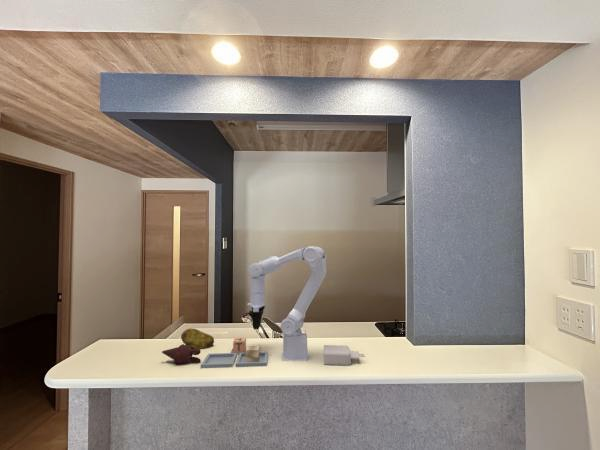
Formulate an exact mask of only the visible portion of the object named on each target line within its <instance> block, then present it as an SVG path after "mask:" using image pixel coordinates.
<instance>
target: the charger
mask: <svg viewBox="0 0 600 450" xmlns="http://www.w3.org/2000/svg"><path fill="white" fill-rule="evenodd" d="M362 357H365V354H364V353H359V351H358V350H356V351H355V350H353V351H352V350H351V349H350V346H349V345H345V344H344V345H338V344H337V345H336V344H324V345H323V365H326V366H350V365H351V364H352V361H353V360H354V361H359V360H360V358H362Z"/></svg>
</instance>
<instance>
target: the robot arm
mask: <svg viewBox="0 0 600 450" xmlns="http://www.w3.org/2000/svg"><path fill="white" fill-rule="evenodd" d="M297 260H299V261H305V263H306V264H307V265H308V266H309V269H310V271H311V274H310V276H309V279H308V280H307V281H306V284H305V286H304V287H303V289H302V291H301V293H300V295H299V296H298V298H297V301H296V302H295V305H294V306H293V308H292V310H291V311H290V312H289V313H288V314H287V316H286V318H284V319H282V321H281V323H280V331H281V332H282V336H283V337H282V352H281V360H282V362H283V361H284V362H285V361H287V362H288V361H308V353H309V352H308V350H309V349H308V334H307V333H304V332H302V329H301V328H303V326H304V320H305V317H306V313H307V310H308V309H309V308H310V307H309V306H310V305H311V303H312V301H313V299H314V298H315V297H316V294H317V292H318V290H319V288H320V286H321V284H322V283H323V281H324V279H325V278H326V275H327V255H326V253H325V251H324V249H323V248H322V247H321V246H314V245H313V246H312V245H310V246H307V247H302V248H298V249H296V250H294V251H292V252H289V253H287V254H285V255H282V256H280V257H278V256H276V255H275V256H274V255H270V256H269V257H268V258H267V259H264V260H262V259H261V260H259V262H253V263H252V264H250V265H249V267H248V269H247V270H248V275H249V276H250V290H249V291H250V295H249V296H250V301H249V302H248V303H247V306H249V307H251V308H250V309H251V310H249V311H248V314H249V316H250V318H251V322H252V323H251V324H252V328H253V330H259V329H260V325H261V323H262V319H263V318H262V316H263V315H264V312H265V311H264V310H265V308H266V306H265V305H266V303H265V285H266V284H265V282H266V281H265V279H266V278H265V277H266V275H268V274H271V273H275V272H277V271H279V270H281V268H282V266H283V265H286V264H289V263H292V262H295V261H297Z"/></svg>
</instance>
